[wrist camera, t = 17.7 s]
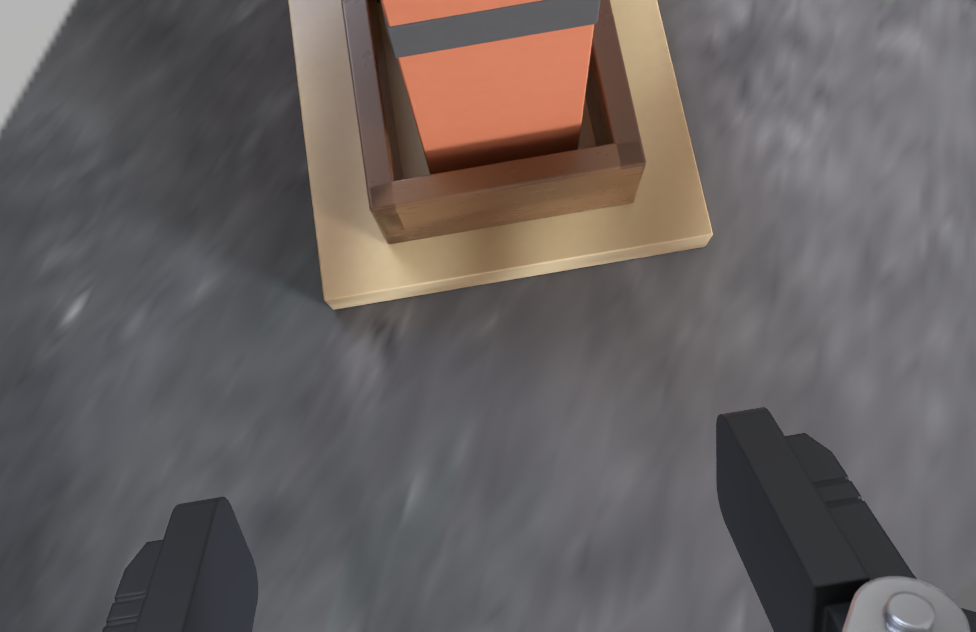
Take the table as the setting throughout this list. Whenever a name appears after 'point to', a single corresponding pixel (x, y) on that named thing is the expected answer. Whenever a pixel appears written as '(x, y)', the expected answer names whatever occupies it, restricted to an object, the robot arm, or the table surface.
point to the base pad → (488, 166)
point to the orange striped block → (493, 75)
